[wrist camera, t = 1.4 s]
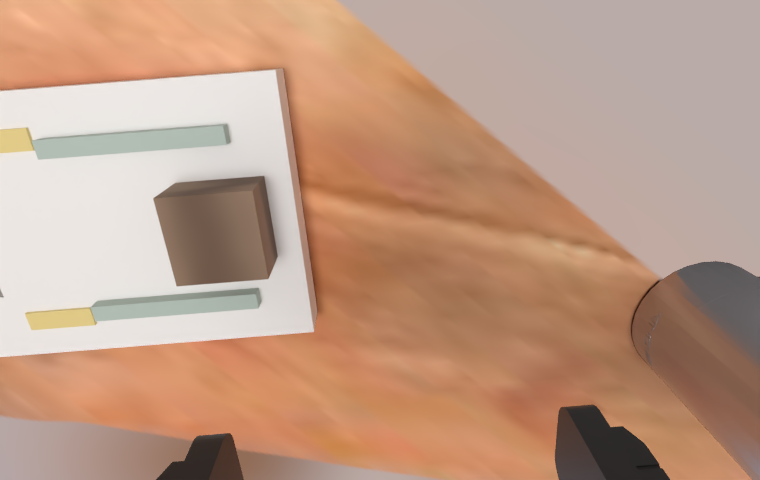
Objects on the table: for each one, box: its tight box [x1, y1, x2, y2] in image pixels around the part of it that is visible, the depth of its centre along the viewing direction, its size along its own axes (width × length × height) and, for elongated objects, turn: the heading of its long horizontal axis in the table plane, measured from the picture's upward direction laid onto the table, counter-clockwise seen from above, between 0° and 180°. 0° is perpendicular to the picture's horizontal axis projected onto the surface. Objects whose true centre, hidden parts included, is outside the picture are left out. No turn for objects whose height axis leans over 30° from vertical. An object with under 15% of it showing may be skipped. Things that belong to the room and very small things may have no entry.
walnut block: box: [153, 176, 278, 286], centre depth 26 cm, size 5×5×3 cm
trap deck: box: [0, 68, 317, 357], centre depth 28 cm, size 26×16×3 cm, turn 94°
